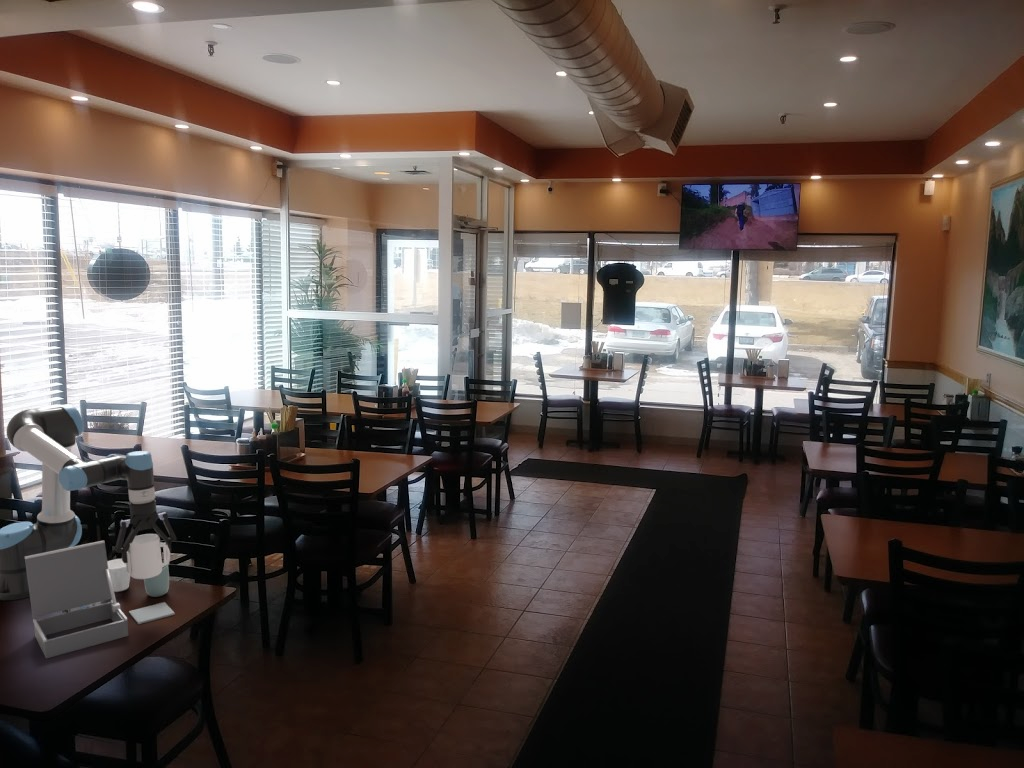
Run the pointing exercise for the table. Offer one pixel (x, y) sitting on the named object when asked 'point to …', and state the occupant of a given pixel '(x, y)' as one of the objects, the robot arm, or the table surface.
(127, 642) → the table surface
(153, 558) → the mug
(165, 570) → the cup
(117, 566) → the cup
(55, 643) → the case
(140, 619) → the pad
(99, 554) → the lid
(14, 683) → the table surface
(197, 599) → the table surface
